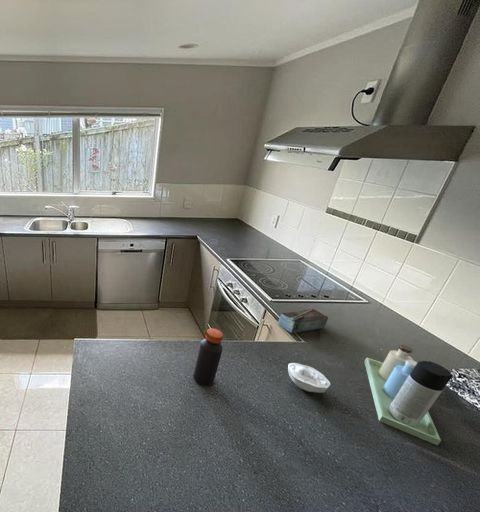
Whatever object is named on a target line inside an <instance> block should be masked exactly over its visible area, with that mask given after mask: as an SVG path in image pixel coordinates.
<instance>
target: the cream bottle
mask: <svg viewBox="0 0 480 512" xmlns="http://www.w3.org/2000/svg"><path fill="white" fill-rule="evenodd" d="M413 352H414V349H413V348H412V347H410V346H408V345H405V344H400V345H399V346H398V350H393V349H392V350H391V349H390V350H389V352H388V354H387V355H386V357H385V358H384V361H383V362H382V363H383V364H382V366H381V368H380V369H379V371H378V375H379V376H380V377H381V378H382V379H383V380H385V381H387V380H388V378H389V377H390V375H391V373H392V372H393V370H394V368H395V366H397V365H402V366H405V364H406V363H405V362H406V361H407V360H413V361H415V360H414V358H413V357H411V356H410V355H411V354H412V353H413Z"/></svg>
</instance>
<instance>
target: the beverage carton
mask: <svg viewBox="0 0 480 512" xmlns="http://www.w3.org/2000/svg"><path fill="white" fill-rule="evenodd" d="M328 319H329V316H327V315H325V314H324V313H322V312H320V311H318V310H316V309H315V308H309V309H303V310H295V311H290V312H281V313H280V316H279V318H278V322H277V323H278V325H279V326H280V327H282V328H283V329H285V330H286V331H288V332H289V333H291V334H295V333H300V332H307V331H308V332H309V331H313V330H314V331H315V330H321V329H325V328H326V324H327V322H328Z"/></svg>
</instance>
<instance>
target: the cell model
mask: <svg viewBox="0 0 480 512" xmlns="http://www.w3.org/2000/svg"><path fill="white" fill-rule="evenodd" d="M287 373H288V376H289V378H290V379H291V381H292V382H293V383H294V385H295V386H296V387H297V388H298V389H301V390H304V391H306V392H309V393H325V392H326V391H327V389H328V388H329V387H330V386H331V382H330V380H328V378H327V377H326V376H325V375H324V374H323V373H322V372H320V371H318V370H317V369H316V368H314V367H312V366H310V365H305V364H302V363H298V362H290V363H288V365H287Z"/></svg>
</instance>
